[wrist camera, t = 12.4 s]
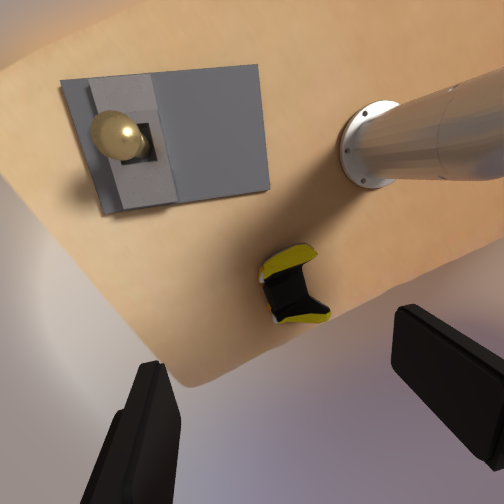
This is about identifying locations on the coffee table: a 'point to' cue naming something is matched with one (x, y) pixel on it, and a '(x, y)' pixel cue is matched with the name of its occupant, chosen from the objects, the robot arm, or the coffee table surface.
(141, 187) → the grey slotted housing block
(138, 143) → the pin
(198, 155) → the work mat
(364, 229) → the coffee table surface
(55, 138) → the coffee table surface
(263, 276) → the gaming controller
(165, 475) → the robot arm
